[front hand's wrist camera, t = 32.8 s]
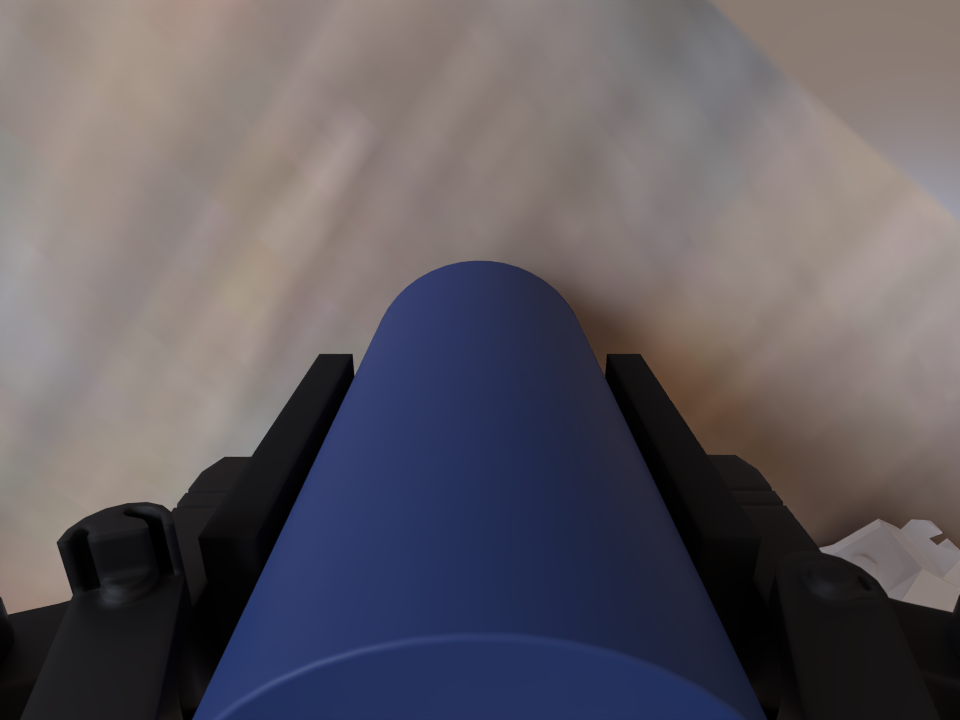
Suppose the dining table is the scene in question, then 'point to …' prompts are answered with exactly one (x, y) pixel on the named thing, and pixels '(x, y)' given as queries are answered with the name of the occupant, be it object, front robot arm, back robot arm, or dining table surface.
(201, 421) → the dining table surface
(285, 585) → the canister
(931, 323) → the dining table surface
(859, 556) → the pistol
